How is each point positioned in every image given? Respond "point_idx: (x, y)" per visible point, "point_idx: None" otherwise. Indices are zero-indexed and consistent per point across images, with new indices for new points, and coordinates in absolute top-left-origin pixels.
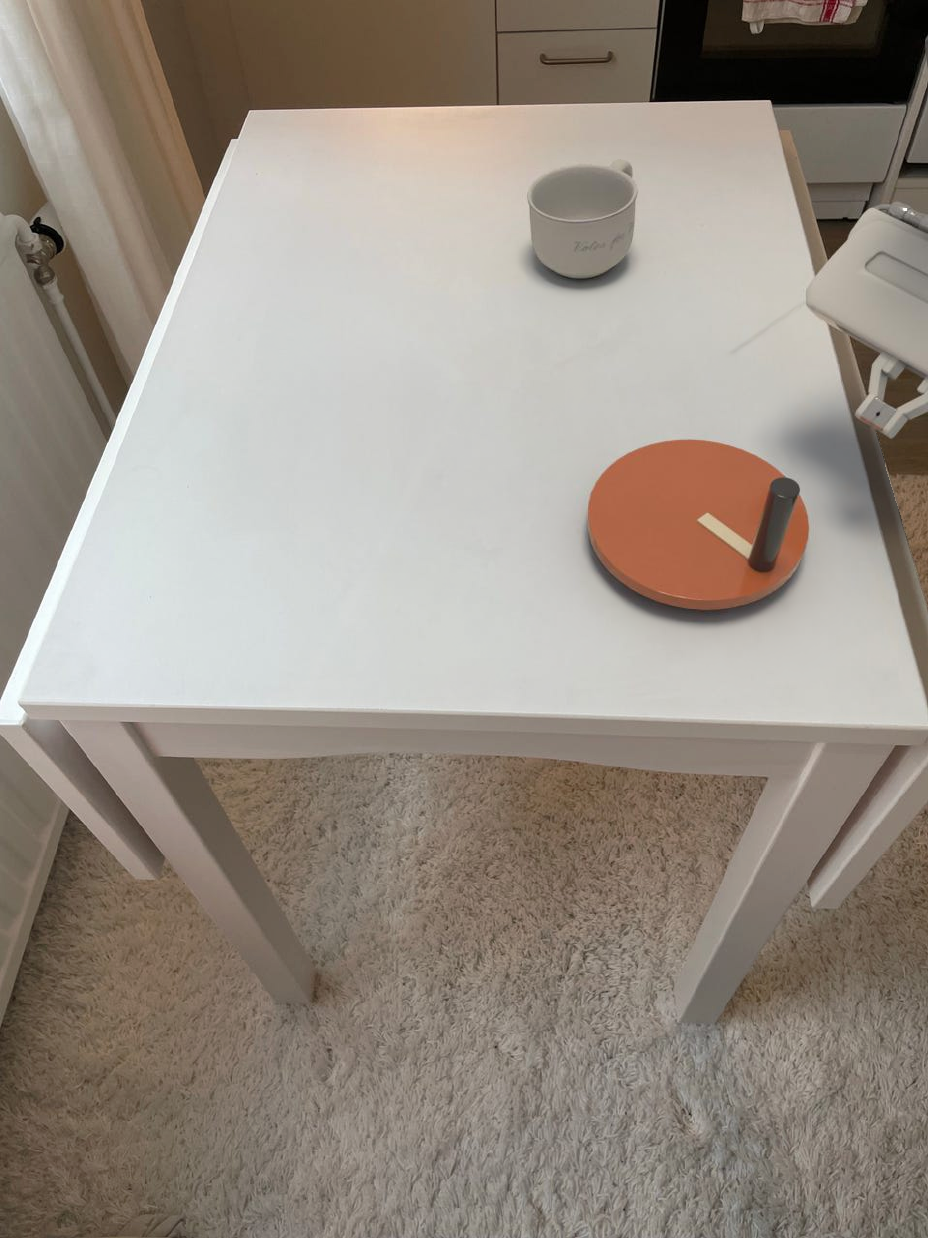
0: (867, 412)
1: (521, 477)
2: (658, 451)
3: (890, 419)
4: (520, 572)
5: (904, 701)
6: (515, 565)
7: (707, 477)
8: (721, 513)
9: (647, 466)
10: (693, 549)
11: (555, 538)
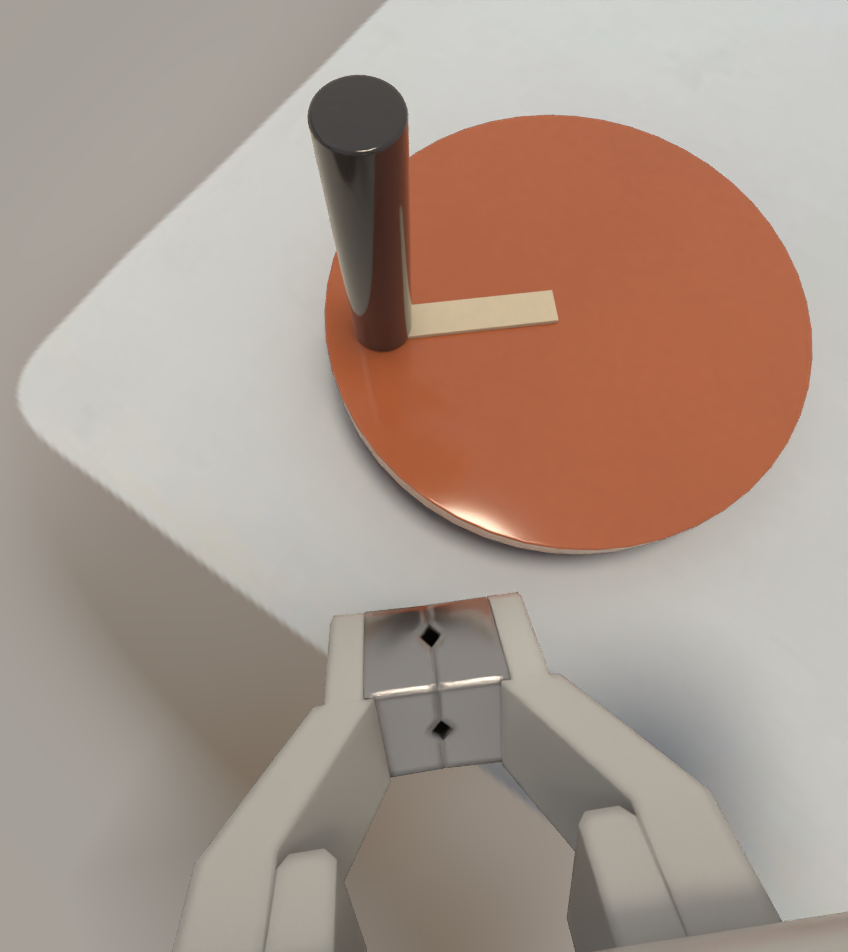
0: (474, 614)
1: (842, 193)
2: (781, 356)
3: (362, 652)
4: (632, 87)
5: (33, 402)
6: (649, 88)
7: (653, 393)
8: (542, 347)
9: (748, 310)
10: (489, 243)
11: None
